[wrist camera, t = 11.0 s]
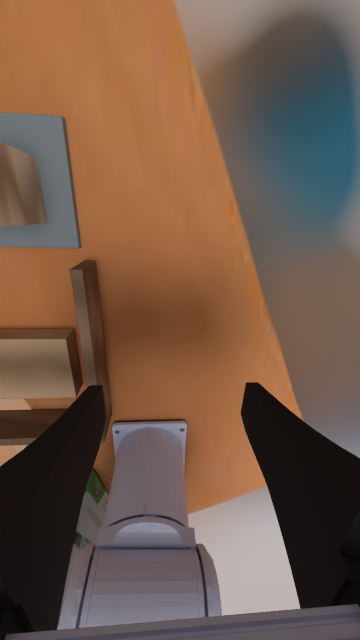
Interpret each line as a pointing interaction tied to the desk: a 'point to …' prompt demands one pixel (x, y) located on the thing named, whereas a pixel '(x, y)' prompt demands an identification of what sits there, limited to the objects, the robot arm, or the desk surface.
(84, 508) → the ink box
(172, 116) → the desk surface
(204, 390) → the desk surface
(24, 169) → the maple block
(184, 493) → the robot arm
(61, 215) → the slate mat
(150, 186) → the desk surface
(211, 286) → the desk surface
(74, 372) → the walnut open-sided frame
